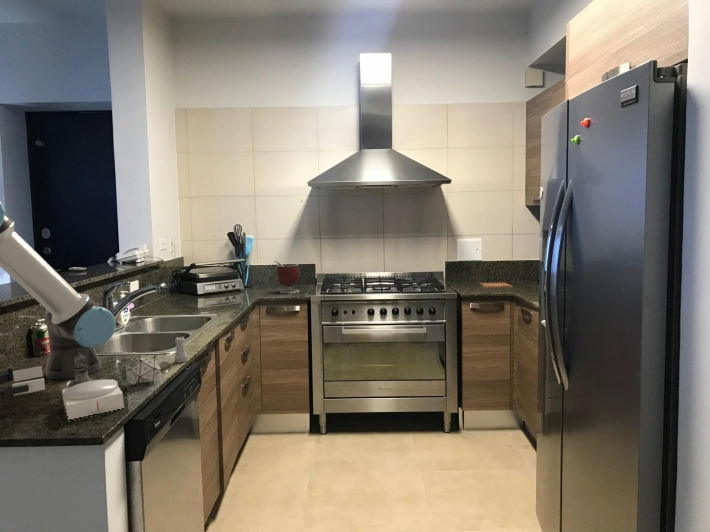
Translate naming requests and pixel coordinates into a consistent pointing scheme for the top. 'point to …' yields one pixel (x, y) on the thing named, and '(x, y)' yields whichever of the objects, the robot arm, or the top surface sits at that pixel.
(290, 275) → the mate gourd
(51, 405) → the top surface
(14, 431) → the top surface
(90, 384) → the kitchen scale
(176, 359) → the rook chess piece
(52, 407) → the top surface
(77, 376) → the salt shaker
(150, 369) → the game die
